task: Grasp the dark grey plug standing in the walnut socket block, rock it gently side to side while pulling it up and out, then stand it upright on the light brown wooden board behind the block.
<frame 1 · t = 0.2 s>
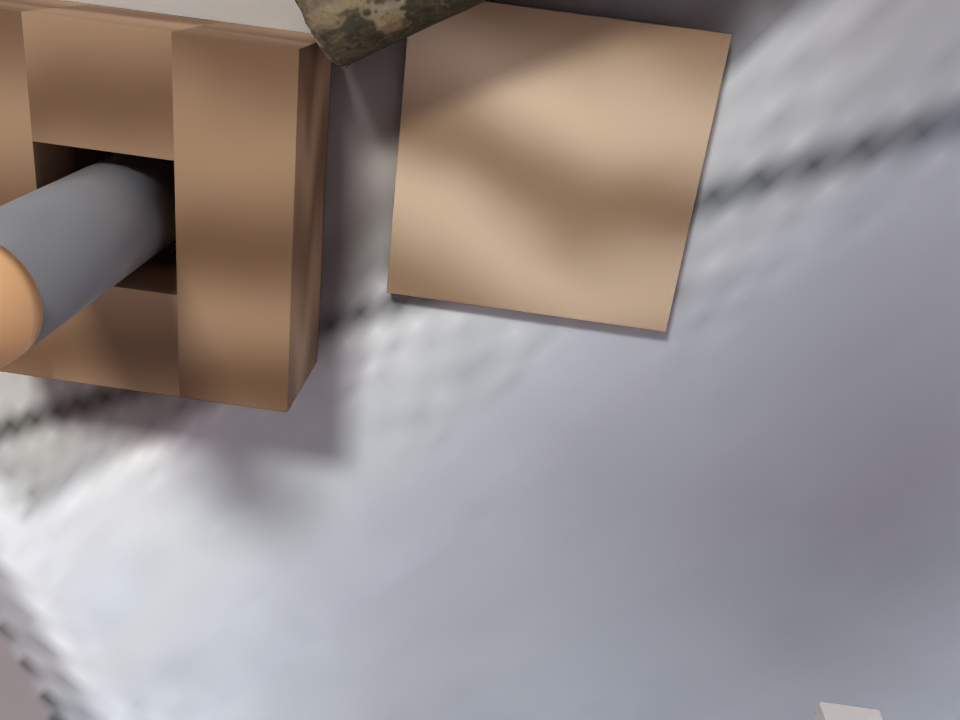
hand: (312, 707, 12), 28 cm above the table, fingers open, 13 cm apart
plug: (160, 188, 38), resting in socket block
light brown wooden board: (546, 169, 37), on the table
socket block: (160, 188, 38), on the table
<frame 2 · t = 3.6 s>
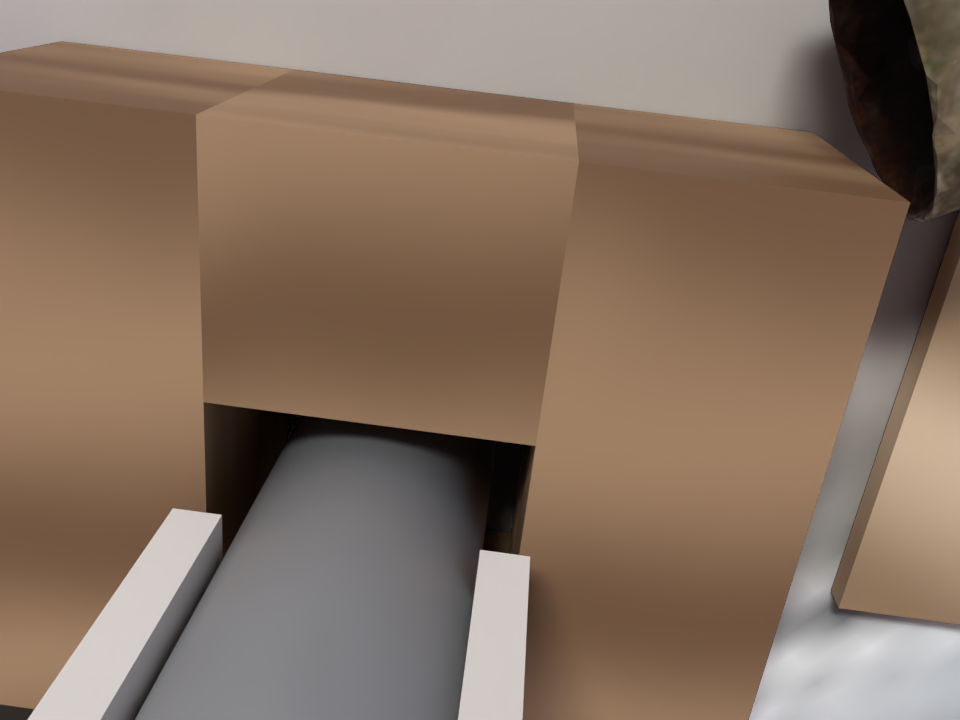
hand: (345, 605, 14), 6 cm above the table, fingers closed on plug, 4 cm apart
plug: (406, 418, 20), resting in socket block, touching gripper
socket block: (406, 418, 20), on the table
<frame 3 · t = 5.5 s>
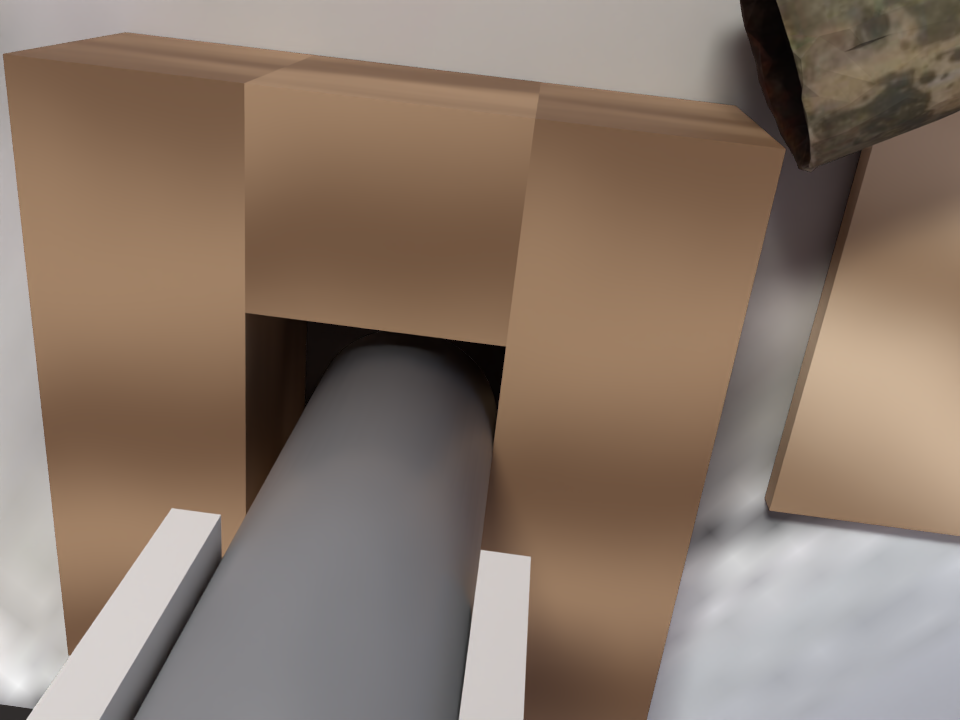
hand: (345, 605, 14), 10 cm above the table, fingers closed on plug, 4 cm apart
plug: (406, 412, 20), point 4 cm above the table, touching gripper, socket block
socket block: (405, 349, 23), on the table
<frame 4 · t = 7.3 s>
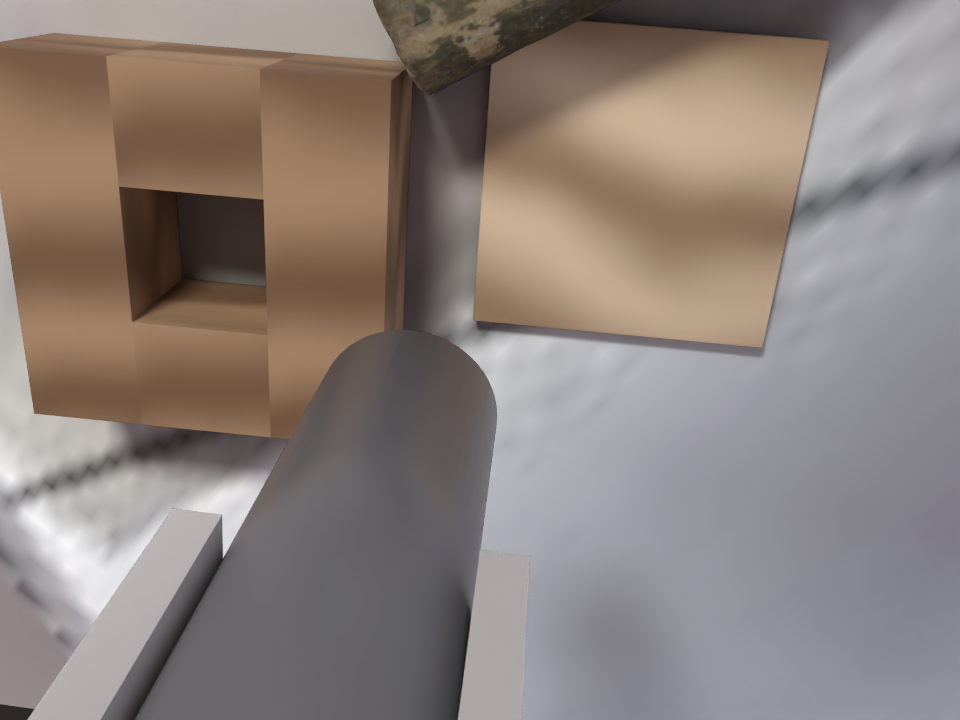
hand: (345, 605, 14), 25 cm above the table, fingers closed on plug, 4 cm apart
plug: (407, 412, 20), point 18 cm above the table, touching gripper
light brown wooden board: (635, 188, 36), on the table
socket block: (239, 225, 37), on the table
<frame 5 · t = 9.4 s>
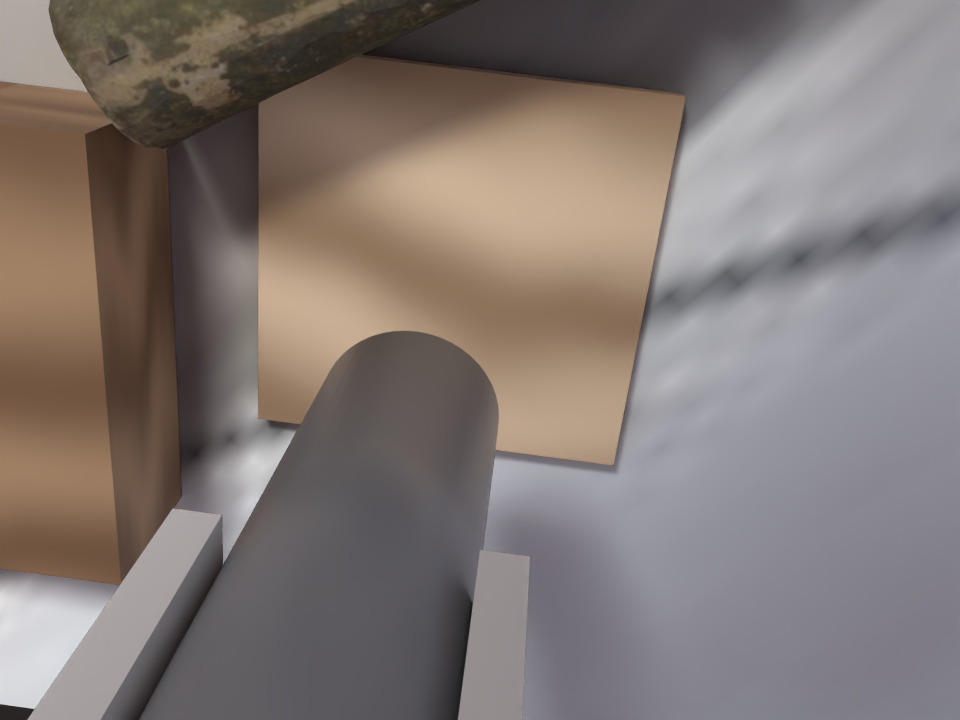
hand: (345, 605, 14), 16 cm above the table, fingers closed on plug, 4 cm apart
plug: (409, 413, 20), point 9 cm above the table, touching gripper
light brown wooden board: (453, 267, 28), on the table
when the fingers open (8 cm above the table, at t = 11.1 s): plug stays where it is, resting on light brown wooden board.
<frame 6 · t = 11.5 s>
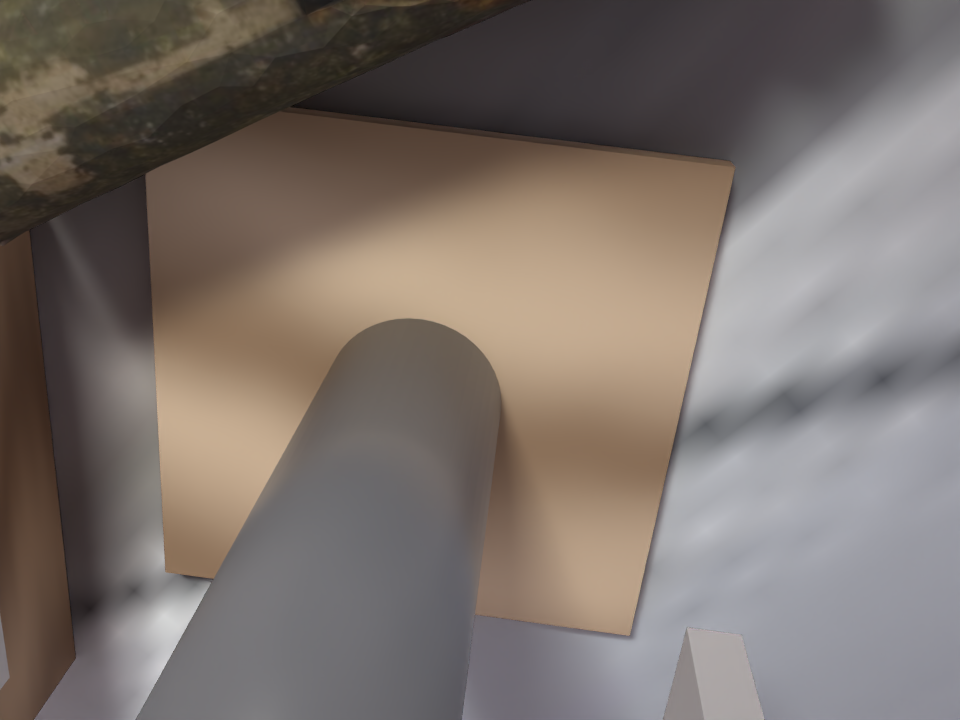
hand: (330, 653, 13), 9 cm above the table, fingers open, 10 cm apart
plug: (413, 399, 21), point 1 cm above the table, touching light brown wooden board
light brown wooden board: (417, 384, 21), on the table
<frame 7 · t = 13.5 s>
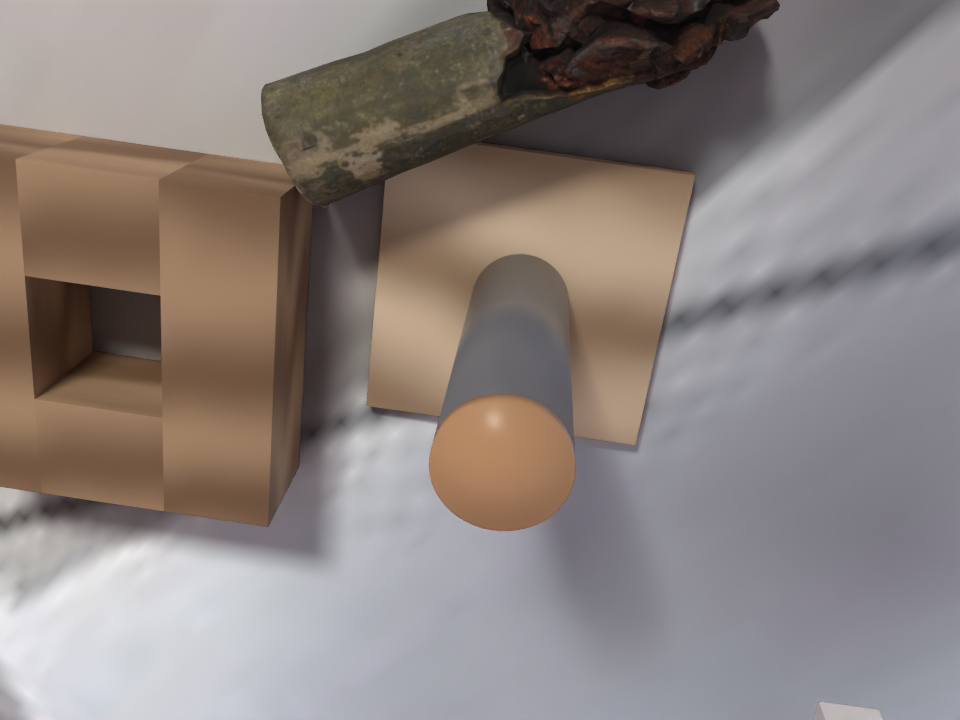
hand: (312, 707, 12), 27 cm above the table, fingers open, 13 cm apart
plug: (519, 300, 38), point 1 cm above the table, touching light brown wooden board
brown lumpy club: (513, 40, 34), on the table, touching light brown wooden board
light brown wooden board: (520, 293, 38), on the table
socket block: (148, 305, 40), on the table
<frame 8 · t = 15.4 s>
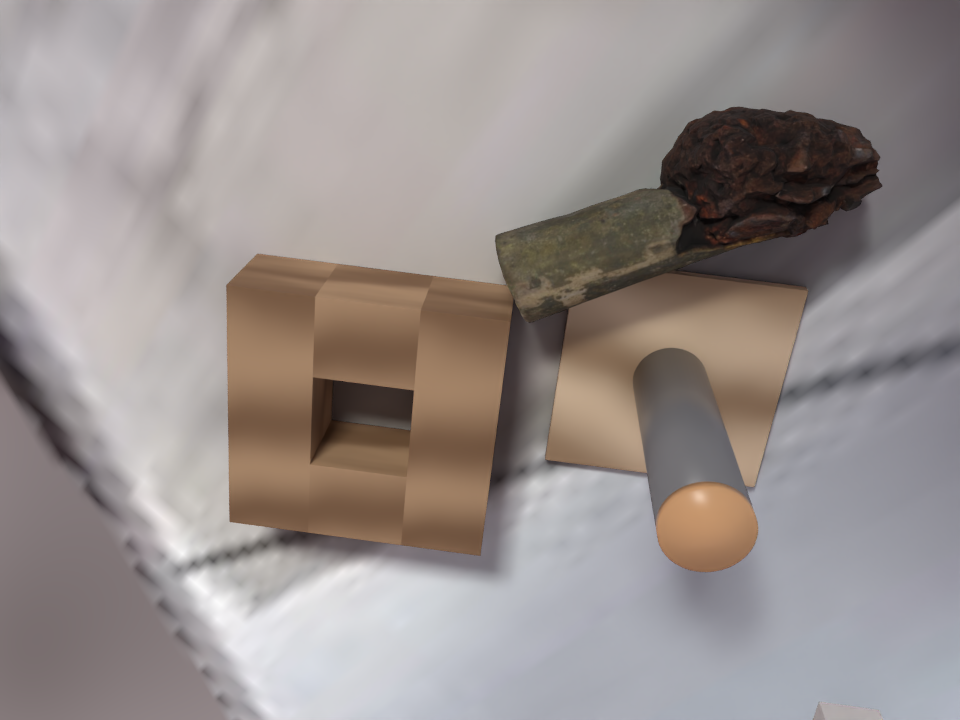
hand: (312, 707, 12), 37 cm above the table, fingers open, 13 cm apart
plug: (669, 381, 49), point 1 cm above the table, touching light brown wooden board
brown lumpy club: (673, 195, 46), on the table, touching light brown wooden board
light brown wooden board: (668, 375, 50), on the table
socket block: (378, 386, 51), on the table
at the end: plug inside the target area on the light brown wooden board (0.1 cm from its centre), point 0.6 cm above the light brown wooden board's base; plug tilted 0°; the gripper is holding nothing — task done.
